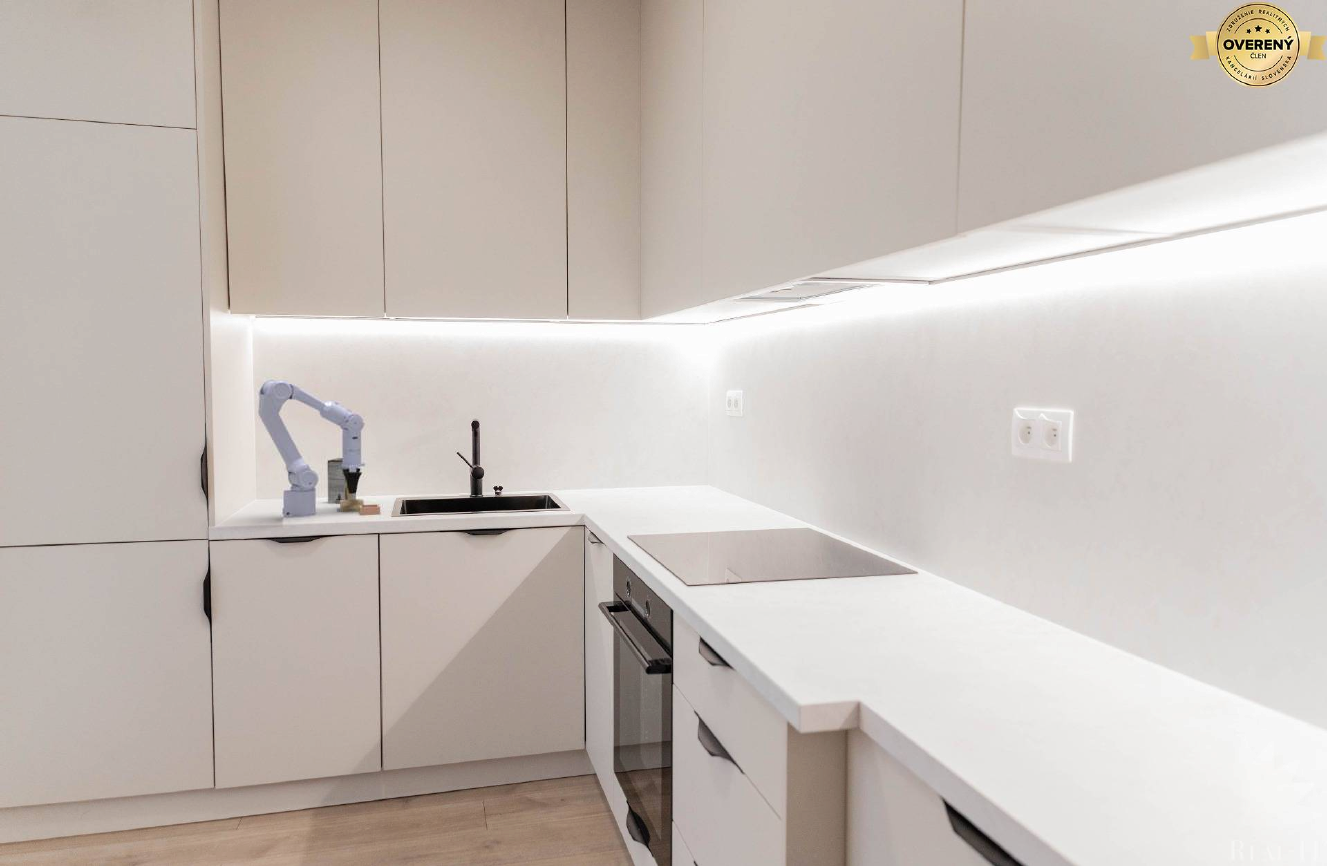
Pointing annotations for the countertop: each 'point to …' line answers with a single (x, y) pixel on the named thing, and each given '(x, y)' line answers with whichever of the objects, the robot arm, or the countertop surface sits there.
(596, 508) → the countertop surface
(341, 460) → the coffee box
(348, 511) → the mat
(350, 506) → the tan rectangular block
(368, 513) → the pink square tray
